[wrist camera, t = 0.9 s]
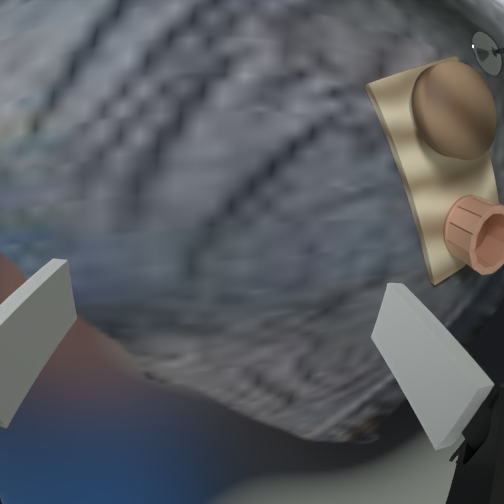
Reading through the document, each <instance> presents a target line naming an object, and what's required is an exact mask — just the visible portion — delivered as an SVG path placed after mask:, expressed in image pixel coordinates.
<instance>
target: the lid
mask: <svg viewBox="0 0 504 504" xmlns="http://www.w3.org/2000/svg"><path fill="white" fill-rule="evenodd" d="M411 106H412V113H413V118H414V121H415V124H416V127H417V129H418V131H419V133H420V135H421V137H422V138H423V139H424V141H425V142H426V143H427V144H428V146H429V147H430V148H432V149H433V150H434V151H435V152H437V153H439V154H441V155H443V156H446V157H451V158H457V159H462V160H474V159H477V158H479V157H481V156H482V155H484V154H485V153H486V152H487V151H488V149H489V148H490V146H491V144H492V142H493V140H494V137H495V133H496V128H497V113H496V106H495V102H494V99H493V96H492V93H491V91H490V89H489V87H488V85H487V84H486V82H485V81H484V79H483V78H482V77H481V76H480V74H479V73H478V72H477V71H475V70H474V69H473V68H471V67H470V66H468V65H466V64H464V63H461V62H457V61H450V62H446V63H441V64H437V65H433V66H430V67H428V68H426V69H425V70H423V71H422V72H421V73H420V75H419V76H418V77H417V79H416V81H415V84H414V86H413V90H412V98H411Z"/></svg>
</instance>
